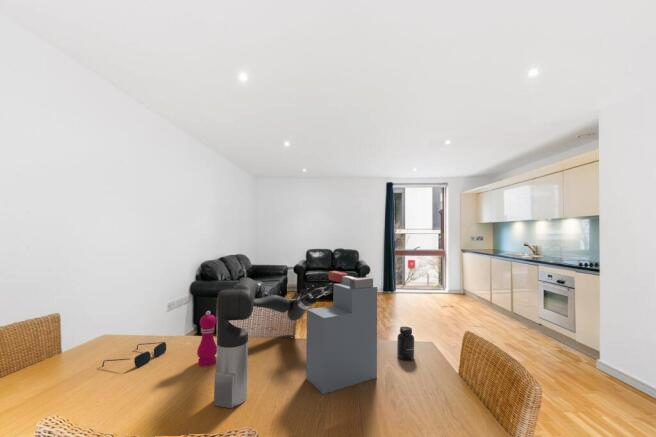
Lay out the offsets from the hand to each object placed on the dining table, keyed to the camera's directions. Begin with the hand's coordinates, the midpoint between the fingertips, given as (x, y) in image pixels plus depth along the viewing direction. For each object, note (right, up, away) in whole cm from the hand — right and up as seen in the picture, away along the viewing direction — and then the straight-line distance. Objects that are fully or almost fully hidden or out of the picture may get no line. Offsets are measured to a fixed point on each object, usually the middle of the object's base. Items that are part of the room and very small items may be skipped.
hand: (322, 286), depth 132 cm
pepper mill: (-45, -27, -13) cm, 54 cm away
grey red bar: (+10, +5, -16) cm, 19 cm away
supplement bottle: (+34, -28, -6) cm, 45 cm away
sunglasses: (-74, -27, -10) cm, 80 cm away
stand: (+7, -27, -24) cm, 37 cm away
